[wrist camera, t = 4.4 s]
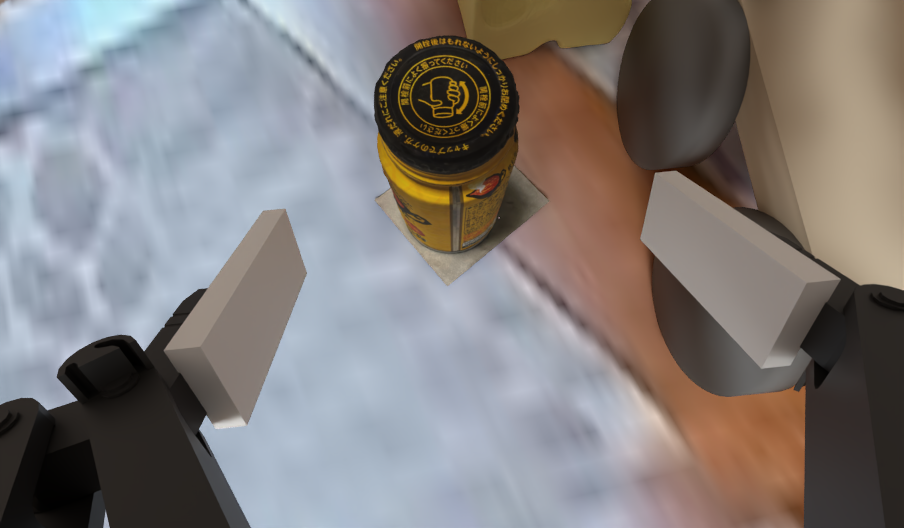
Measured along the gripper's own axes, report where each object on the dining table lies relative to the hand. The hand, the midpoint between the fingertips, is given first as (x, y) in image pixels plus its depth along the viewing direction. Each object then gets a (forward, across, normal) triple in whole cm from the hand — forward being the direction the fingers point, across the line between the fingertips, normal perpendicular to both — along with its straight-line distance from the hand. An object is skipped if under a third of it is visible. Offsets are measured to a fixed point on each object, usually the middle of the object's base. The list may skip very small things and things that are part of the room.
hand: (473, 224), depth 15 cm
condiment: (+11, 0, +4) cm, 12 cm away
